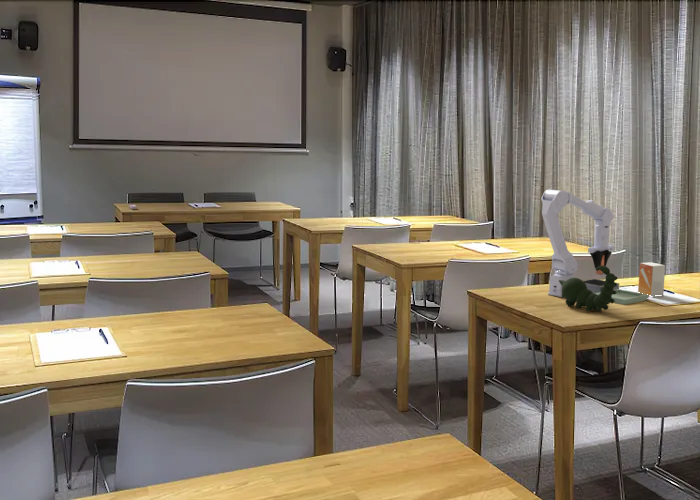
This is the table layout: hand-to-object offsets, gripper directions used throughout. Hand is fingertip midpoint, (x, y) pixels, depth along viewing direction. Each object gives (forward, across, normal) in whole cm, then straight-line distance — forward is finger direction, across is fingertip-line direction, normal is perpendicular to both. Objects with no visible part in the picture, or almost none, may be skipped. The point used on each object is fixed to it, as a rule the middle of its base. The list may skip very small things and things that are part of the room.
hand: (600, 268), depth 307 cm
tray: (+10, -6, -15) cm, 19 cm away
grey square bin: (+10, 0, +1) cm, 10 cm away
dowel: (+2, 0, 0) cm, 2 cm away
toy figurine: (+10, -32, -17) cm, 38 cm away
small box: (+10, +11, -17) cm, 23 cm away
